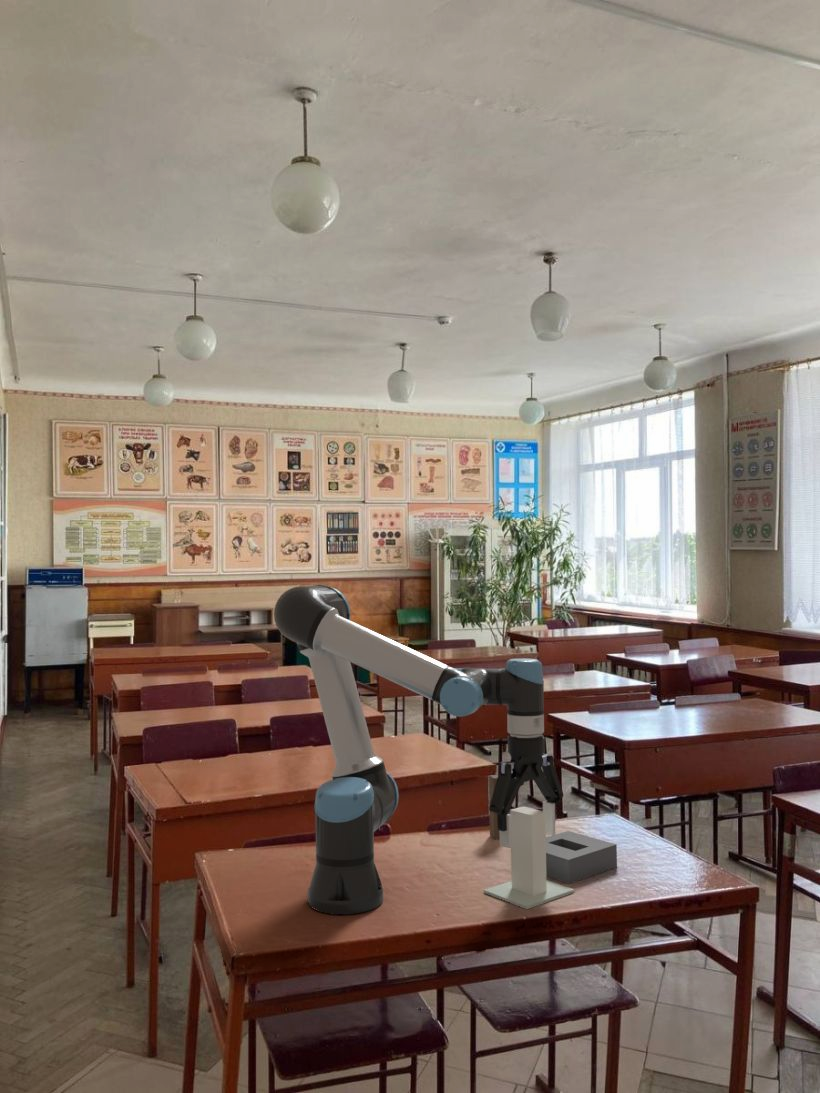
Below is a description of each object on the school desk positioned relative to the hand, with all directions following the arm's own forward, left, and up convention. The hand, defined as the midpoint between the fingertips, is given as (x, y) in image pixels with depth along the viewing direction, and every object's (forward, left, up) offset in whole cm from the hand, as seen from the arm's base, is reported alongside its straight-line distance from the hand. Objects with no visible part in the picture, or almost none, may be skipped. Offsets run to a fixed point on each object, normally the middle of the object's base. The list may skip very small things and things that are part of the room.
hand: (528, 840), depth 184 cm
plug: (0, 0, -10) cm, 10 cm away
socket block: (+18, +5, -11) cm, 21 cm away
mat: (0, 0, -11) cm, 11 cm away
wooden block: (+24, +31, -11) cm, 41 cm away
